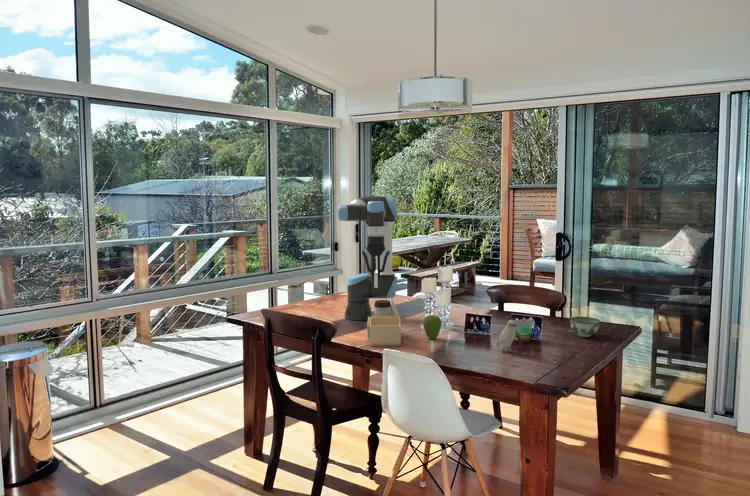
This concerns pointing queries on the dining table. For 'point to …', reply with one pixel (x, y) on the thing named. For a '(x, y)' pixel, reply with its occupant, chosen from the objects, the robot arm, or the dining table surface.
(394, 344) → the carton
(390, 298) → the flap
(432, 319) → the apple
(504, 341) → the bird
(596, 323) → the bowl
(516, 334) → the food container
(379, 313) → the coffee cup
